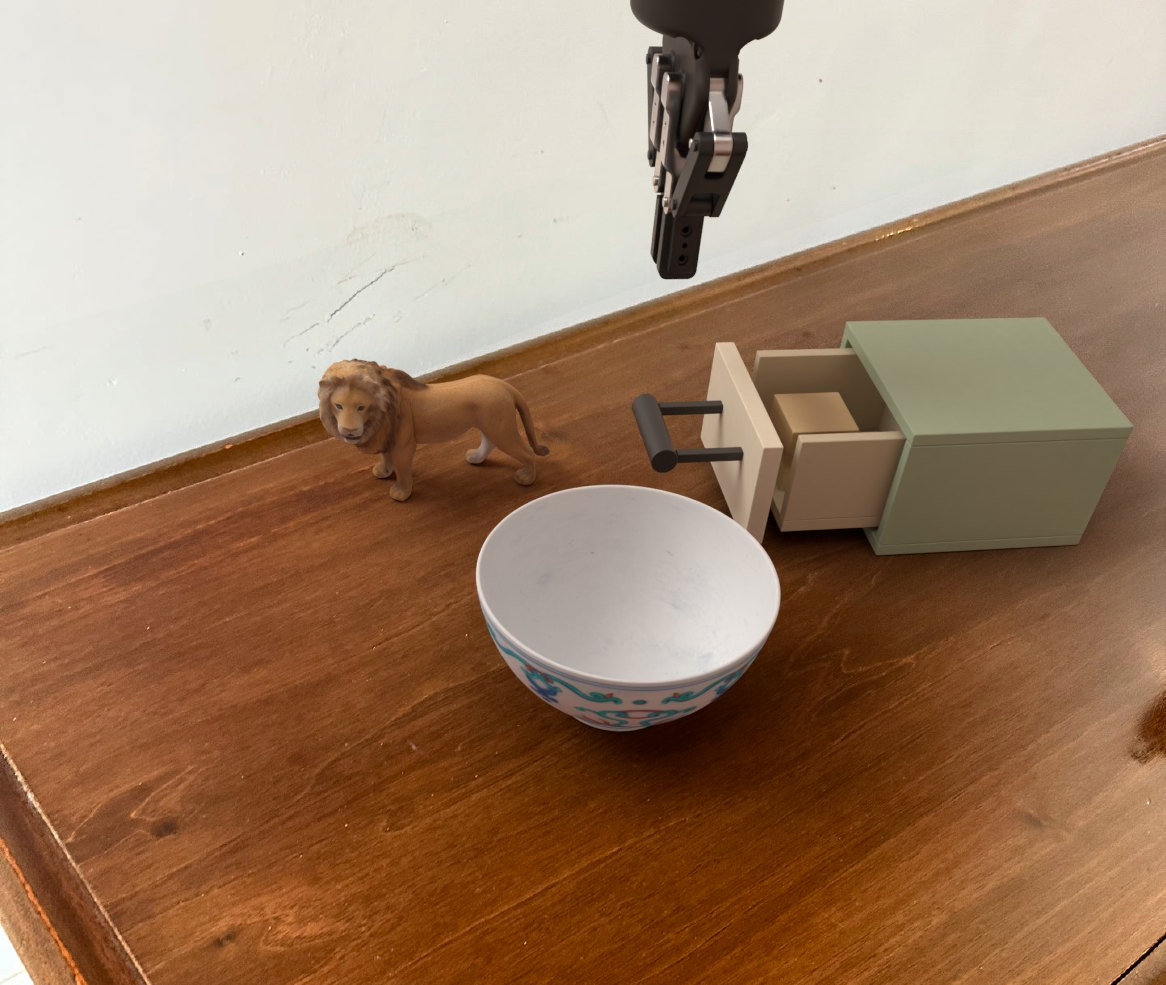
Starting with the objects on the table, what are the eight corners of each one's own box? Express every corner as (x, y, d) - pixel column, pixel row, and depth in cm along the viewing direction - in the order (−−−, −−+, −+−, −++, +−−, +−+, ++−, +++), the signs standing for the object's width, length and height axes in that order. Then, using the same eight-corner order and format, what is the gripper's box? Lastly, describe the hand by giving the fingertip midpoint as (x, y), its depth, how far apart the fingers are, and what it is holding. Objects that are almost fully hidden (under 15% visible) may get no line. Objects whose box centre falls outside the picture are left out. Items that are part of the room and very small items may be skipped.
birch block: (823, 449, 77) (838, 391, 74) (843, 488, 74) (860, 429, 71) (761, 452, 76) (774, 393, 73) (779, 491, 74) (793, 432, 71)
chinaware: (719, 826, 58) (746, 717, 53) (433, 746, 61) (429, 633, 55) (776, 633, 68) (805, 523, 62) (528, 570, 70) (533, 458, 64)
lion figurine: (342, 528, 72) (328, 394, 65) (316, 478, 75) (300, 345, 68) (564, 480, 76) (573, 350, 70) (532, 435, 79) (537, 306, 73)
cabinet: (875, 556, 73) (914, 434, 67) (816, 439, 81) (846, 320, 75) (1078, 545, 76) (1134, 426, 69) (1001, 432, 84) (1045, 316, 77)
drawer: (652, 549, 71) (666, 451, 66) (617, 440, 78) (627, 344, 73) (937, 535, 74) (971, 439, 69) (878, 430, 81) (905, 337, 76)
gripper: (613, -135, 59) (588, 216, 72) (671, -51, 51) (631, 331, 64) (758, -129, 60) (708, 216, 74) (838, -46, 52) (765, 328, 65)
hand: (672, 268), depth 69 cm, fingers closed
